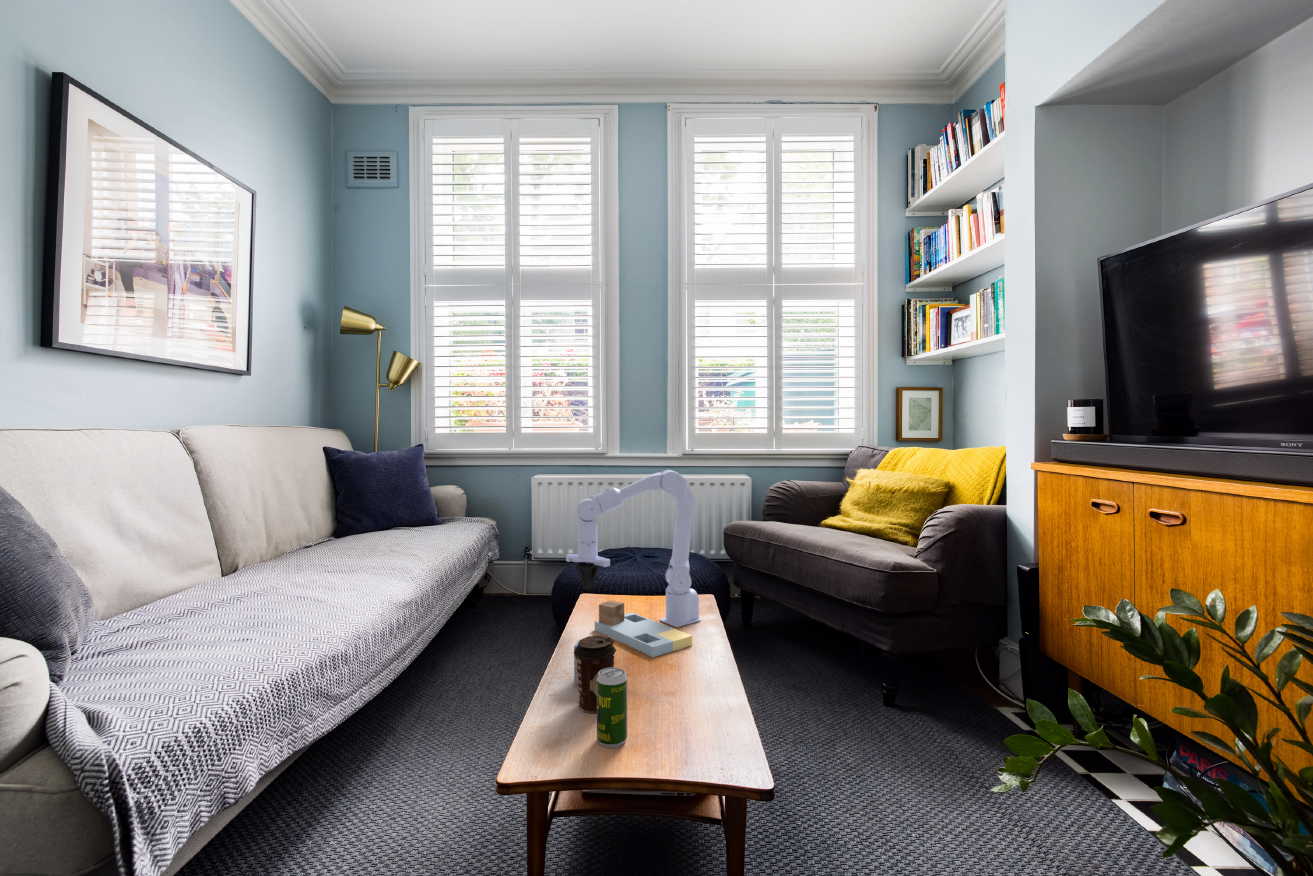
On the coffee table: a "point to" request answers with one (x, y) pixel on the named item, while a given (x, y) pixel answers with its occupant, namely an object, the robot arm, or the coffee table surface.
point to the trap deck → (646, 635)
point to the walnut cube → (611, 612)
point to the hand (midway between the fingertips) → (587, 589)
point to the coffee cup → (592, 667)
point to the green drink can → (611, 707)
